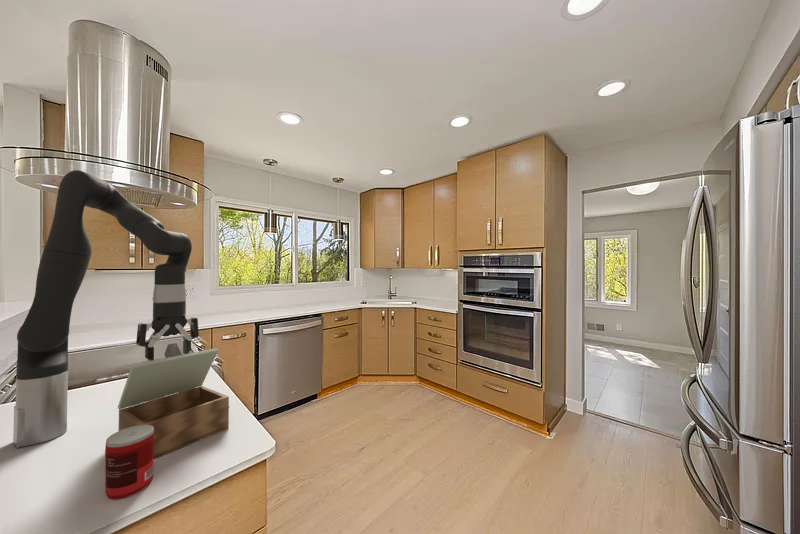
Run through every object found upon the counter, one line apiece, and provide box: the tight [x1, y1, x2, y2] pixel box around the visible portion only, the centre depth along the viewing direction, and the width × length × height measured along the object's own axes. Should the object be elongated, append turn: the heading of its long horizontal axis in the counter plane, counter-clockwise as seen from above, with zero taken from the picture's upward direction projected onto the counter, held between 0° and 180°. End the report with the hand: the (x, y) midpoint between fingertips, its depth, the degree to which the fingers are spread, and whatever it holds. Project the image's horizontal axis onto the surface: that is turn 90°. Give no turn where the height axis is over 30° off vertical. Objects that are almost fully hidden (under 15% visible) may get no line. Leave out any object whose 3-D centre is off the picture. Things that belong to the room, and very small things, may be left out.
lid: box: [117, 342, 219, 411], centre depth 86 cm, size 20×16×6 cm
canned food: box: [104, 425, 155, 500], centre depth 63 cm, size 8×8×11 cm
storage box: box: [118, 385, 230, 461], centre depth 83 cm, size 20×16×9 cm
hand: (169, 356), depth 86 cm, fingers open, 8 cm apart
